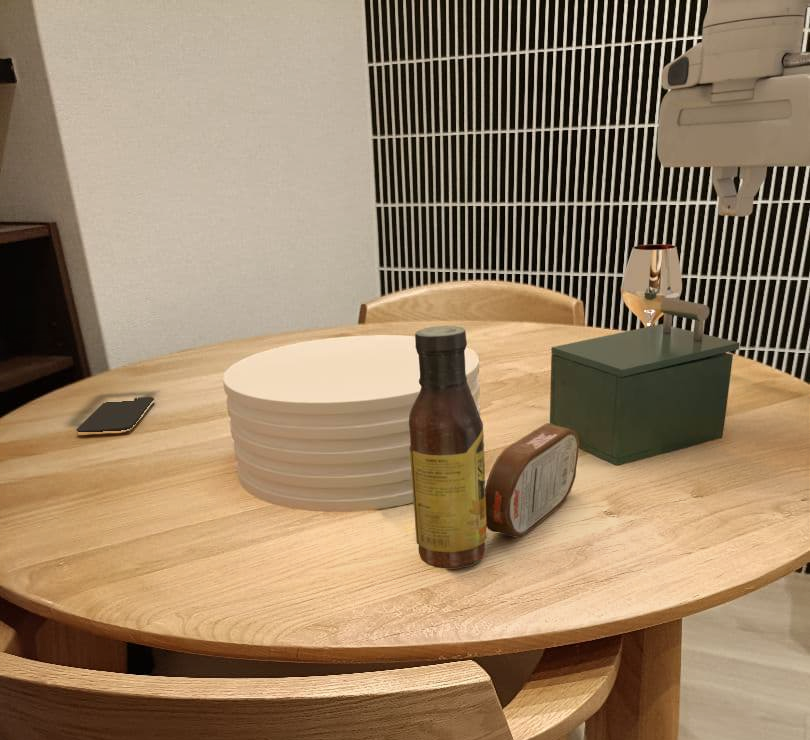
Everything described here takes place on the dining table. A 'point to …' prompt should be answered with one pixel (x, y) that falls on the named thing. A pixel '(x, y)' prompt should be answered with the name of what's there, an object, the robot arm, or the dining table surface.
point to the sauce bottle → (447, 454)
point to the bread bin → (641, 406)
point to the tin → (531, 479)
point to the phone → (115, 415)
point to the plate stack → (329, 421)
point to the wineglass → (651, 280)
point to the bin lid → (650, 344)
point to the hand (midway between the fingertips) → (734, 215)
